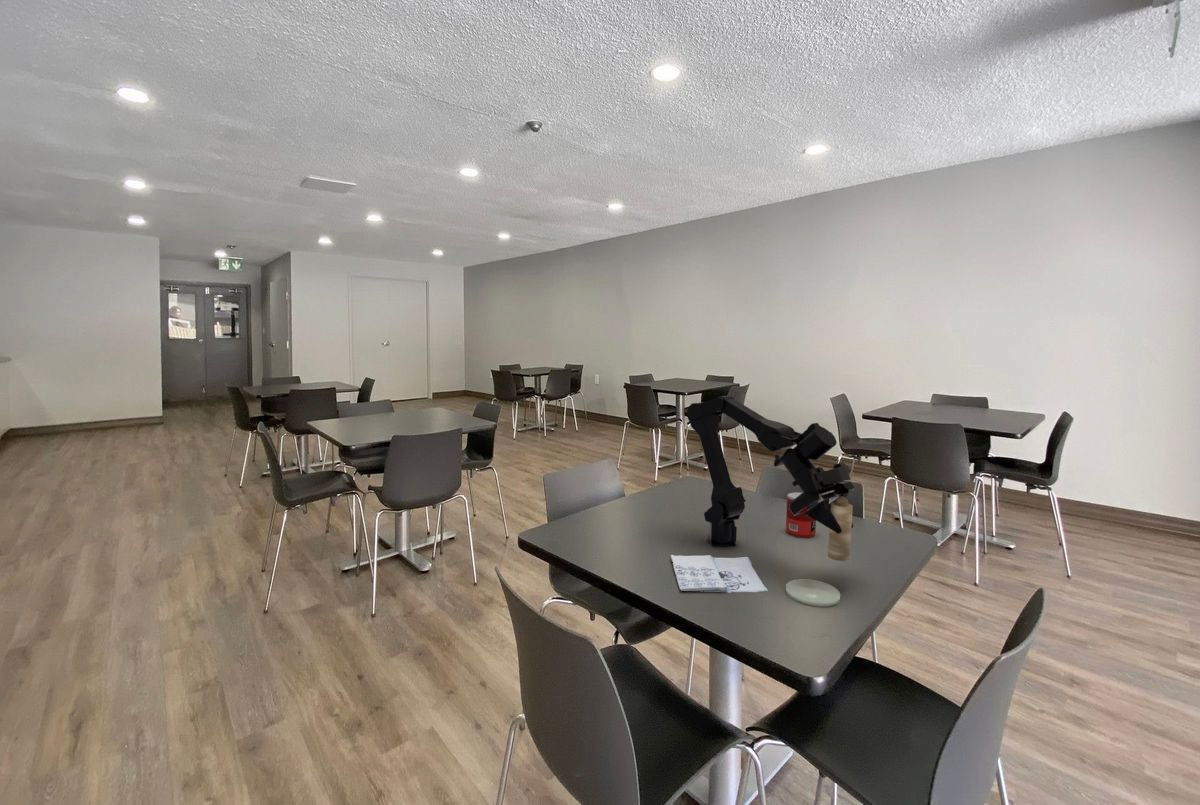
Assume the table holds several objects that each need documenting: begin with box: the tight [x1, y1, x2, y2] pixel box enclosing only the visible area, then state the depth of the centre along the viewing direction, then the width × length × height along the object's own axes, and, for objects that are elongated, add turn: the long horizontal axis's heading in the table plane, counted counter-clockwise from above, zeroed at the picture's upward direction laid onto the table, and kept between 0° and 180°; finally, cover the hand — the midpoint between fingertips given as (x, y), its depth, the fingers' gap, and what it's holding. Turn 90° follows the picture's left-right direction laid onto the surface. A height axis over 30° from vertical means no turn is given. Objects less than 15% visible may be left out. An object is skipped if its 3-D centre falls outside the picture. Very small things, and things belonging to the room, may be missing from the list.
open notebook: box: [670, 554, 769, 594], centre depth 127 cm, size 19×20×2 cm
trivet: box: [785, 578, 841, 608], centre depth 117 cm, size 11×11×1 cm
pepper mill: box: [827, 496, 854, 562], centre depth 120 cm, size 4×4×14 cm
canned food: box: [785, 492, 817, 539], centre depth 154 cm, size 8×8×11 cm
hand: (846, 530), depth 119 cm, fingers closed on pepper mill, 4 cm apart
